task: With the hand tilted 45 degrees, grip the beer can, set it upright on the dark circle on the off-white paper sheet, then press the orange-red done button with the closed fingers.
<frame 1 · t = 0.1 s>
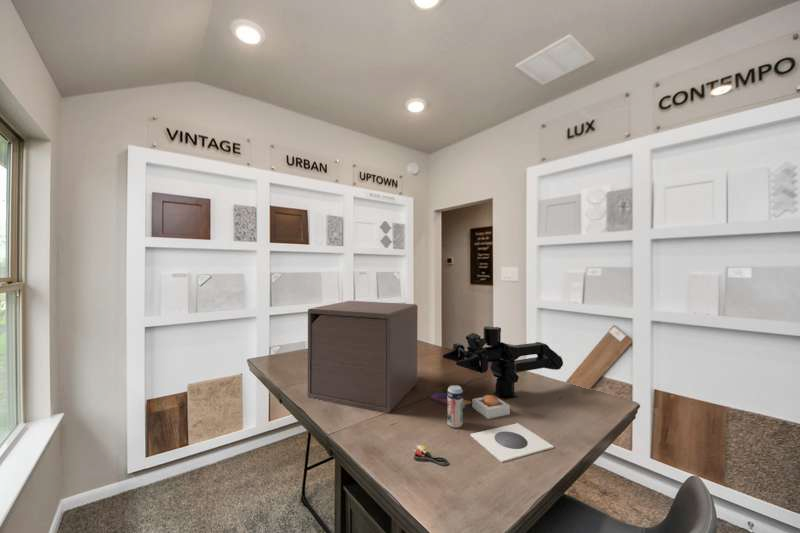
hand: (449, 359, 115), 17 cm above the table, tool horizontal, fingers open, 9 cm apart
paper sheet: (510, 441, 92), on the table
button housing: (490, 410, 111), on the table
smartphone: (450, 402, 119), on the table
composite cable: (428, 461, 83), on the table
beer can: (454, 425, 101), on the table
storage cube: (365, 391, 128), on the table
done button: (490, 400, 111), point 4 cm above the table, slide at 0.0 cm
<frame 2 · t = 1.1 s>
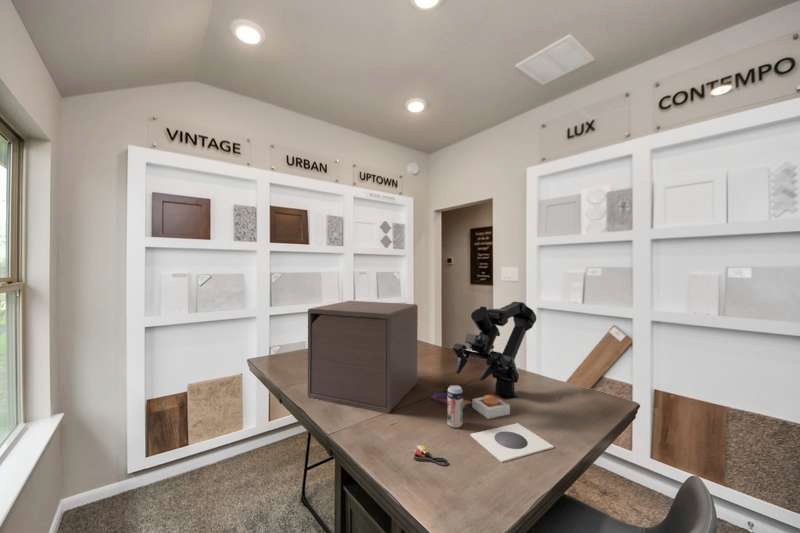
hand: (468, 376, 107), 13 cm above the table, tool tilted 45°, fingers open, 9 cm apart
nothing on the table moved.
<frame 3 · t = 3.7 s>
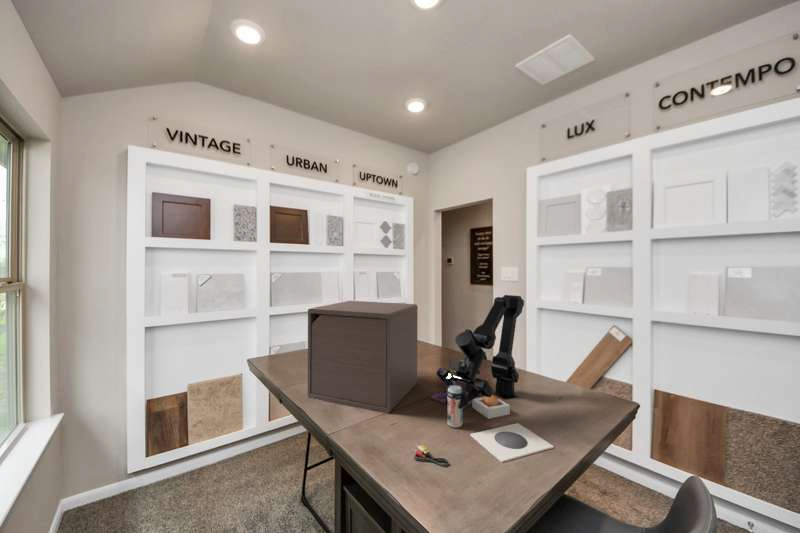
hand: (452, 405, 100), 7 cm above the table, tool tilted 45°, fingers closed on beer can, 5 cm apart
beer can: (454, 425, 101), on the table, touching gripper
everything else where it was.
when the fingers open (8 cm above the table, at t = 8.3 s): beer can stays where it is, resting on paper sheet.
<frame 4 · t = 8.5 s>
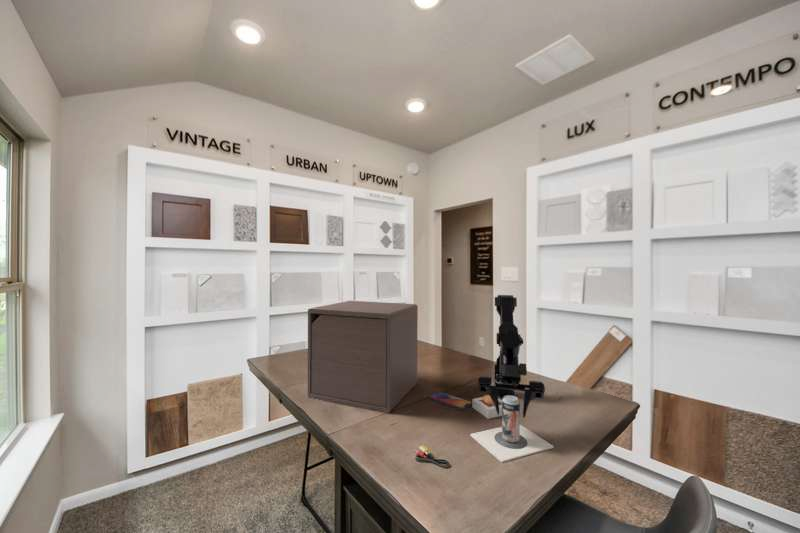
hand: (511, 415, 90), 8 cm above the table, tool tilted 45°, fingers open, 7 cm apart
beer can: (510, 439, 92), resting on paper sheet
everything else where it was.
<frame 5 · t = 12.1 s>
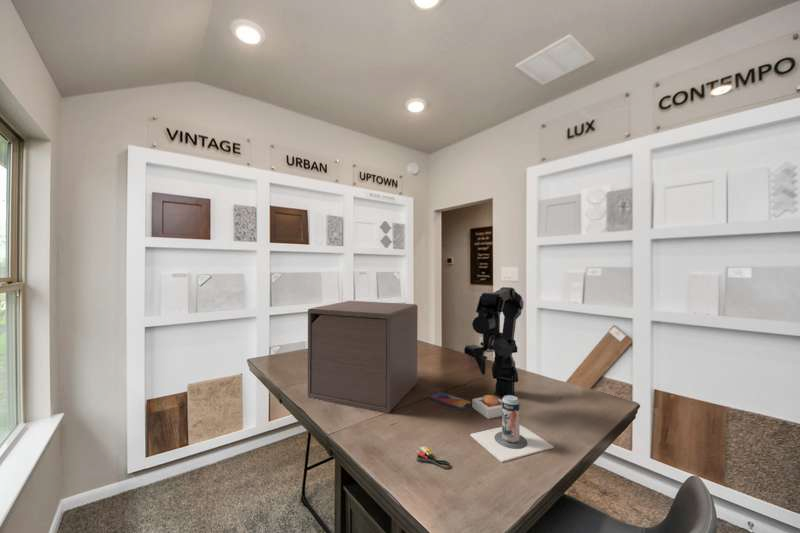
hand: (490, 373, 111), 13 cm above the table, tool pointing down, fingers open, 6 cm apart
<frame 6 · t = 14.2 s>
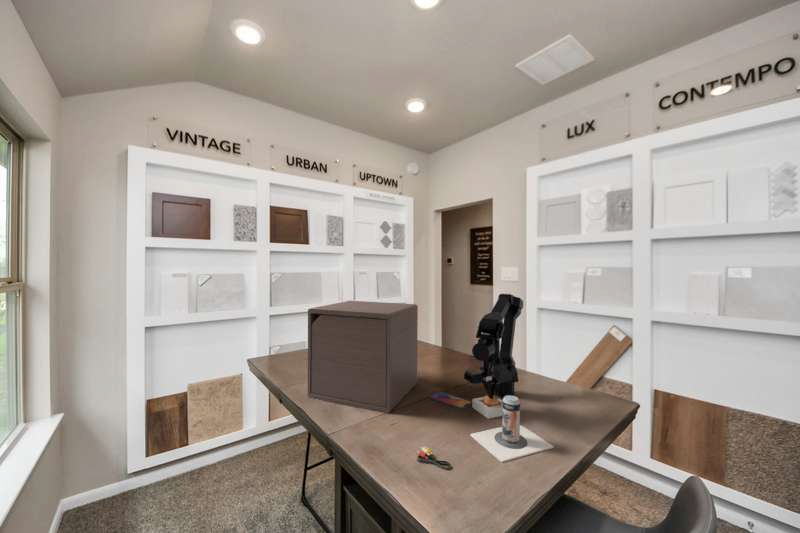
hand: (490, 398, 111), 4 cm above the table, tool pointing down, fingers closed, pressing on done button
done button: (490, 401, 111), point 3 cm above the table, slide at 0.2 cm, touching gripper
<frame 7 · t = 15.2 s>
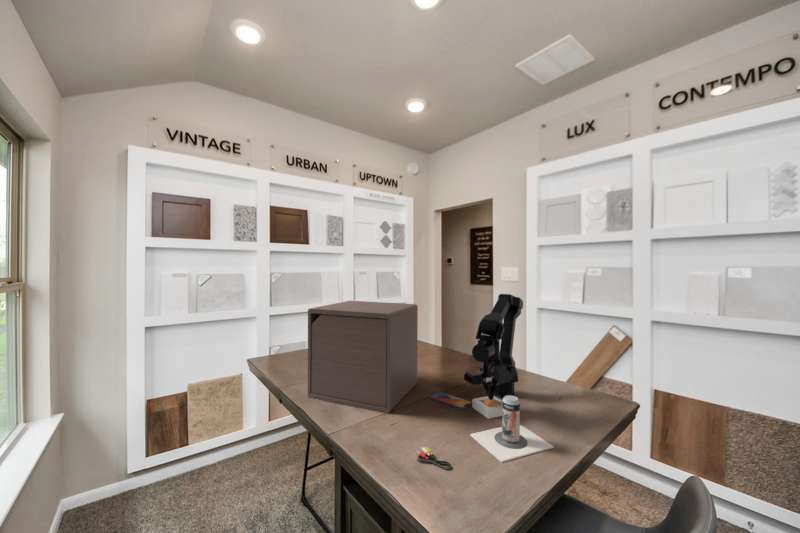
hand: (490, 399, 111), 4 cm above the table, tool pointing down, fingers closed
done button: (490, 404, 111), point 2 cm above the table, slide at 1.2 cm
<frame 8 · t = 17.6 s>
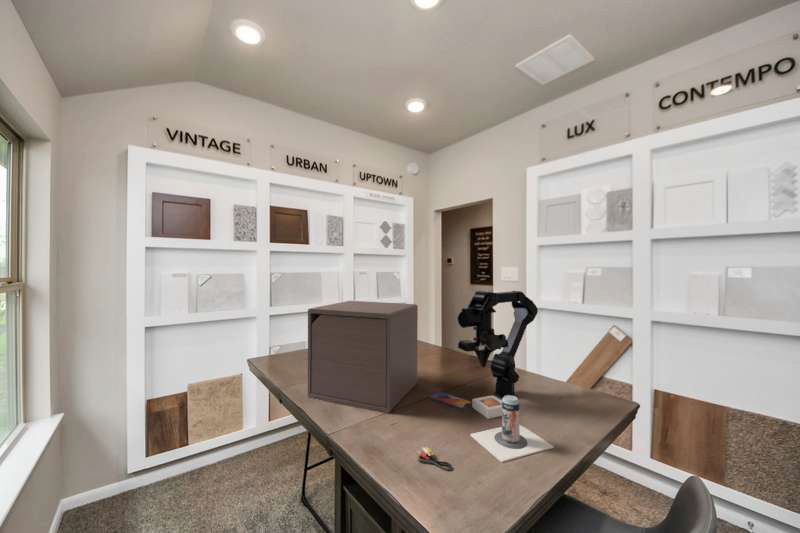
hand: (483, 366, 118), 13 cm above the table, tool pointing down, fingers closed
at the end: beer can 0.2 cm off-centre on the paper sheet, point 0.3 cm above the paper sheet's base; beer can tilted 1°; done button slide at 1.2 cm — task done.
